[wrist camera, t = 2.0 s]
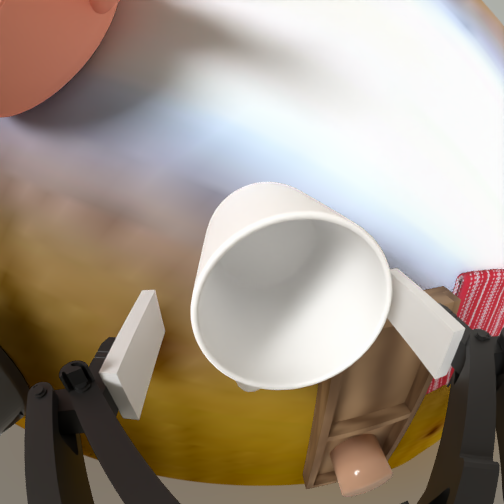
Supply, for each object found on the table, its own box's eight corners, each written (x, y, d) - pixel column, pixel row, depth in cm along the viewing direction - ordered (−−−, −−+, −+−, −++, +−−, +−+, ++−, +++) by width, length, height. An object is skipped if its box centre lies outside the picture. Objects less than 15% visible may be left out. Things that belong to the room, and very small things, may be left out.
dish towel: (500, 356, 32) (509, 365, 29) (406, 388, 29) (415, 402, 27) (538, 266, 26) (549, 272, 24) (456, 266, 24) (472, 276, 21)
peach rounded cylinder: (326, 463, 32) (337, 500, 25) (333, 441, 29) (348, 484, 23) (369, 451, 32) (384, 486, 26) (381, 428, 30) (400, 466, 23)
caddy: (302, 474, 34) (306, 489, 31) (326, 306, 23) (338, 326, 20) (376, 455, 35) (382, 468, 32) (443, 286, 24) (461, 299, 21)
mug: (283, 336, 23) (312, 435, 14) (185, 316, 22) (167, 420, 12) (336, 200, 20) (422, 246, 10) (224, 165, 18) (222, 180, 9)
